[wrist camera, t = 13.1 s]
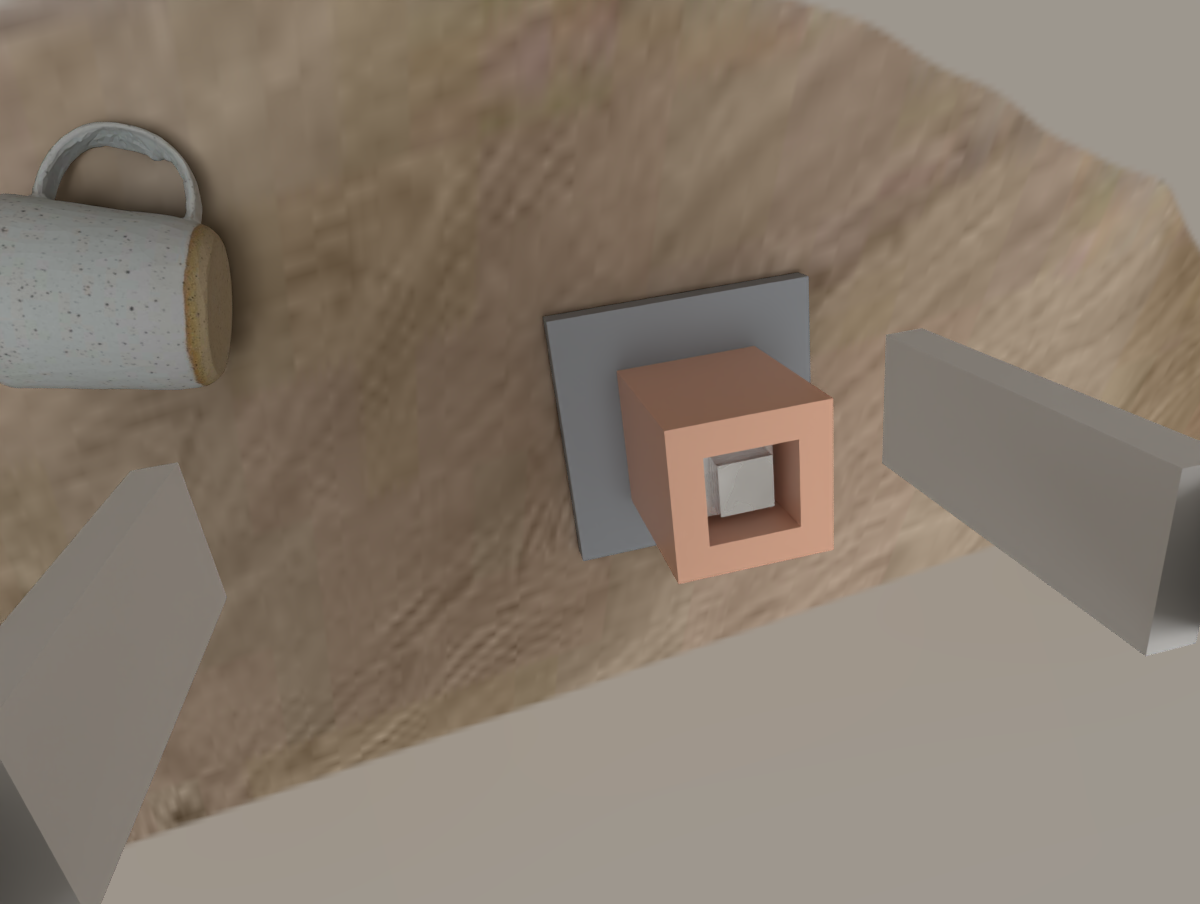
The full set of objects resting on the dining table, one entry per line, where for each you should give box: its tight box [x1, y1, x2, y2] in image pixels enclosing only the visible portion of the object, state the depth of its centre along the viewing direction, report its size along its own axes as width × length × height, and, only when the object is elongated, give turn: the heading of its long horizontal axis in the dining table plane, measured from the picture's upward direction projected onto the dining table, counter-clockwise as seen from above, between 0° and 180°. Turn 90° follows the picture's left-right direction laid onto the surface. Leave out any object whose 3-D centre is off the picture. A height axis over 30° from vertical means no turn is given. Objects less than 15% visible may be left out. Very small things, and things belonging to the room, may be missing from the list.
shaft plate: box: [543, 272, 810, 561], centre depth 44 cm, size 14×14×1 cm
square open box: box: [617, 346, 834, 584], centre depth 39 cm, size 8×8×9 cm
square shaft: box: [703, 445, 775, 517], centre depth 40 cm, size 4×4×8 cm
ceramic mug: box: [0, 122, 232, 390], centre depth 33 cm, size 11×8×8 cm
